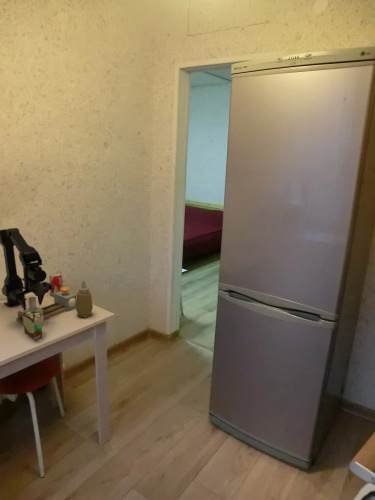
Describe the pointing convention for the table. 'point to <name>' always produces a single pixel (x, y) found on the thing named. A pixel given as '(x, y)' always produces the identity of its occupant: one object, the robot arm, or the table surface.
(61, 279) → the soda can
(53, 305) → the slide rail
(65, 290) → the brown rounded piece
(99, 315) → the table surface
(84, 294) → the squeeze bottle
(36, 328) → the food container
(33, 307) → the carriage
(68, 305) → the cabinet
